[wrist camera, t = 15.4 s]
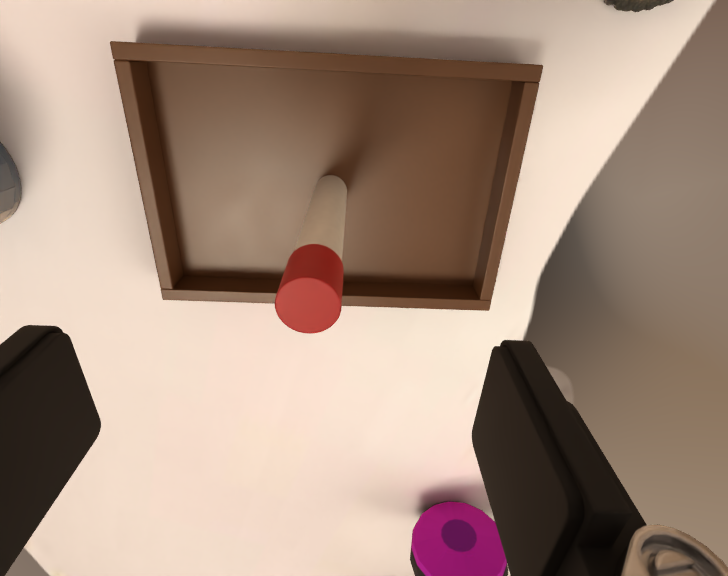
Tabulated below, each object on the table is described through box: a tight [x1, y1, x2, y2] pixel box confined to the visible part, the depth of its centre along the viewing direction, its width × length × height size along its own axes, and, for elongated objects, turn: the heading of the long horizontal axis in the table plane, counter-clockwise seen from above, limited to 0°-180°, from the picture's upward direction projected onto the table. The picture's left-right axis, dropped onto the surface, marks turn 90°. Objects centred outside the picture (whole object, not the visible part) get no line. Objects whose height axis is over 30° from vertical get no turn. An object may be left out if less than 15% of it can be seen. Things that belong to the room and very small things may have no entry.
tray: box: [110, 41, 543, 311], centre depth 25 cm, size 15×22×3 cm
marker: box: [275, 175, 347, 333], centre depth 20 cm, size 2×2×14 cm
